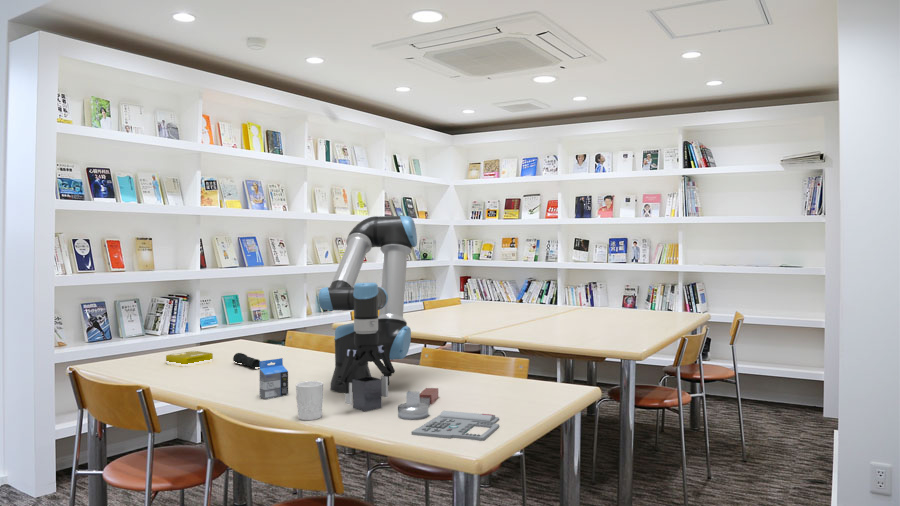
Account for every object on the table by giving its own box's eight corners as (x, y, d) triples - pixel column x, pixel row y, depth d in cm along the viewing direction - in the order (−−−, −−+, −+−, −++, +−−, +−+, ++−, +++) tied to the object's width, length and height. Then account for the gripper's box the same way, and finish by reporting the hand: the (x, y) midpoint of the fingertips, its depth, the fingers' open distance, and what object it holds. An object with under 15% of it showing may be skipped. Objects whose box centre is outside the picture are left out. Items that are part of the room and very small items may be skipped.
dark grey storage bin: (364, 411, 195) (364, 382, 195) (352, 408, 199) (352, 379, 199) (381, 407, 199) (381, 379, 199) (369, 404, 204) (369, 376, 204)
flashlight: (243, 363, 283) (243, 351, 283) (262, 369, 267) (262, 357, 267) (232, 364, 280) (232, 353, 280) (251, 371, 264) (250, 359, 264)
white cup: (298, 414, 193) (298, 381, 192) (325, 413, 193) (324, 380, 193) (294, 421, 185) (293, 387, 185) (322, 420, 185) (321, 386, 185)
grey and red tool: (424, 420, 184) (423, 396, 184) (394, 419, 186) (393, 395, 186) (445, 397, 212) (445, 376, 212) (419, 396, 214) (419, 375, 214)
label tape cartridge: (264, 399, 212) (264, 362, 212) (259, 397, 215) (258, 361, 215) (288, 395, 218) (288, 359, 218) (283, 393, 221) (282, 357, 221)
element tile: (184, 368, 273) (184, 357, 273) (164, 365, 282) (163, 354, 282) (214, 362, 286) (214, 352, 286) (194, 359, 294) (193, 349, 294)
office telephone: (443, 407, 192) (508, 412, 184) (444, 416, 192) (508, 421, 184) (411, 426, 170) (482, 433, 163) (411, 436, 170) (482, 443, 163)
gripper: (338, 337, 188) (339, 409, 188) (405, 329, 205) (405, 395, 205) (325, 334, 193) (325, 404, 193) (390, 327, 210) (391, 392, 210)
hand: (367, 400), depth 199 cm, fingers open, 13 cm apart
